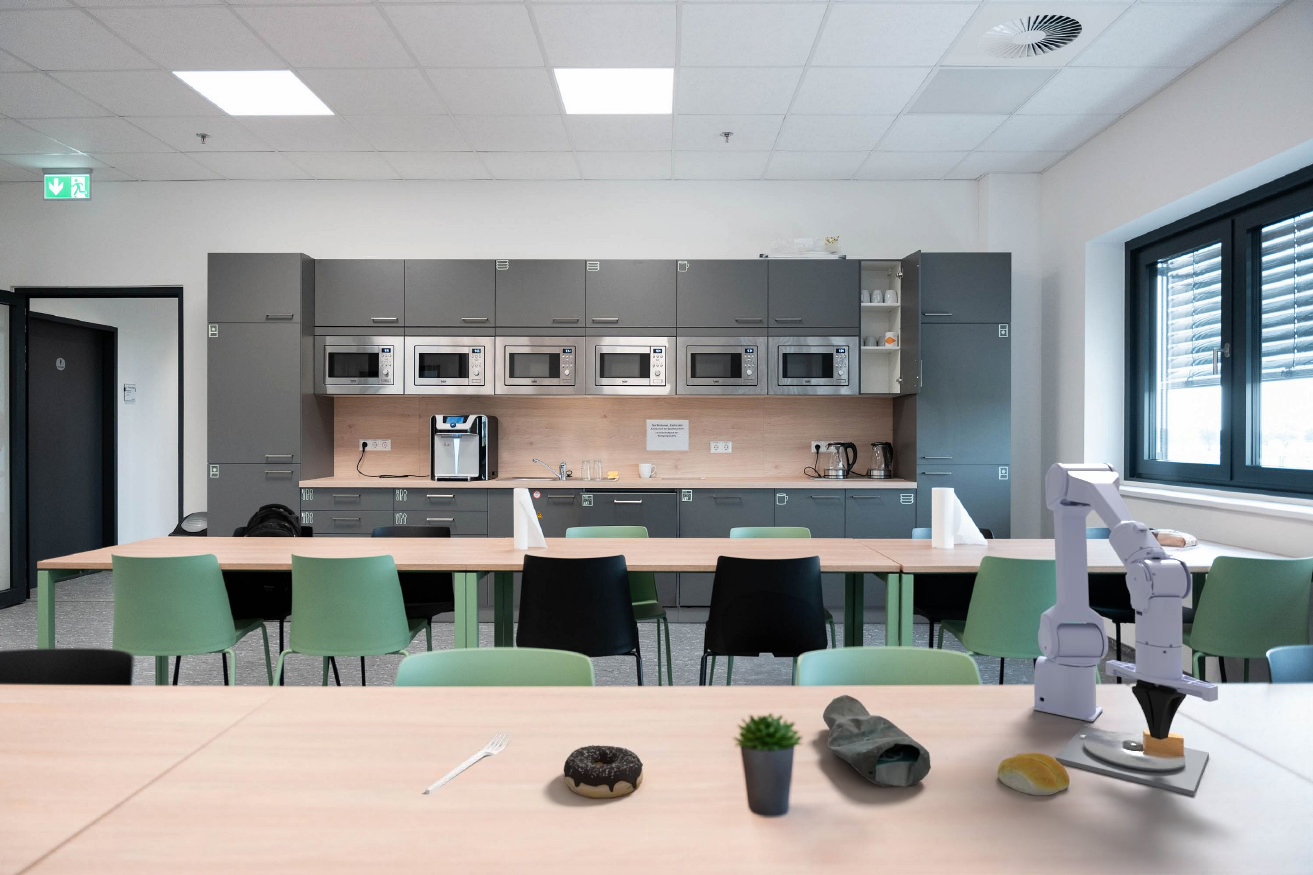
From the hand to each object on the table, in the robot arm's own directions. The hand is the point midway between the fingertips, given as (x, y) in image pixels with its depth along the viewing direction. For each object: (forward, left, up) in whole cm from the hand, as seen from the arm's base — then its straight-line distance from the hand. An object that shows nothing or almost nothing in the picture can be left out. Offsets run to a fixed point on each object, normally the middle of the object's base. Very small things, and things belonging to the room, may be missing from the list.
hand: (1159, 737), depth 112 cm
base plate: (-4, +3, -5) cm, 7 cm away
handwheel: (-4, +3, -5) cm, 7 cm away
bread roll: (-13, -15, -6) cm, 21 cm away
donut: (-59, -54, -6) cm, 80 cm away
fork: (-78, -63, -6) cm, 100 cm away
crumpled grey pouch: (-35, -22, -6) cm, 41 cm away
